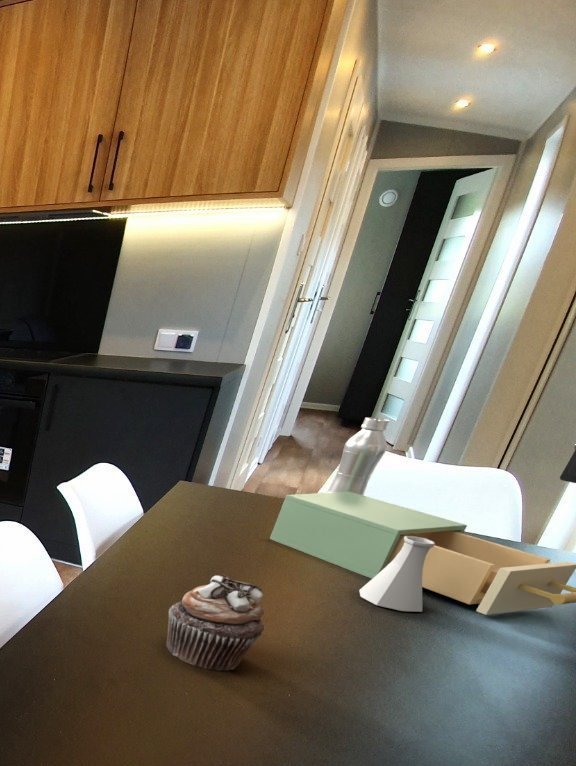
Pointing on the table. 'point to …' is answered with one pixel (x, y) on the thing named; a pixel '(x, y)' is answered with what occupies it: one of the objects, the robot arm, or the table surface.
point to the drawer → (475, 563)
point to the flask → (400, 578)
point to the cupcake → (216, 623)
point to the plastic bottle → (361, 457)
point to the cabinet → (351, 528)
